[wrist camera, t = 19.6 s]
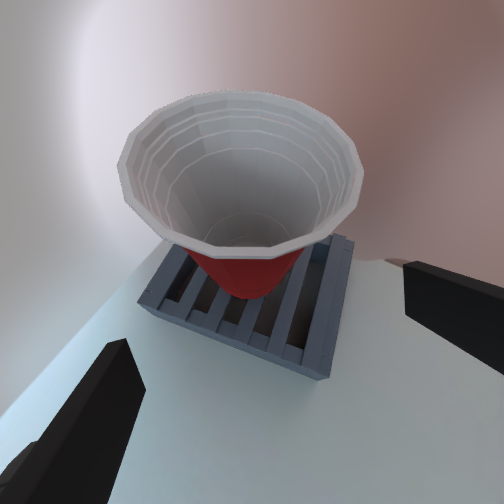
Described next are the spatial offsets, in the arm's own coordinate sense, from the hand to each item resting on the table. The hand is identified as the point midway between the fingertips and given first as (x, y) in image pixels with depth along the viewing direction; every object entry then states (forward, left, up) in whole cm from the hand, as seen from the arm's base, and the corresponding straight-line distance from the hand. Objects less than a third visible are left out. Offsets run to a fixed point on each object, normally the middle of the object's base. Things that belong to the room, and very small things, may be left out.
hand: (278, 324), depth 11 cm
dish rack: (-4, +6, -11) cm, 13 cm away
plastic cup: (-4, +6, -7) cm, 10 cm away
